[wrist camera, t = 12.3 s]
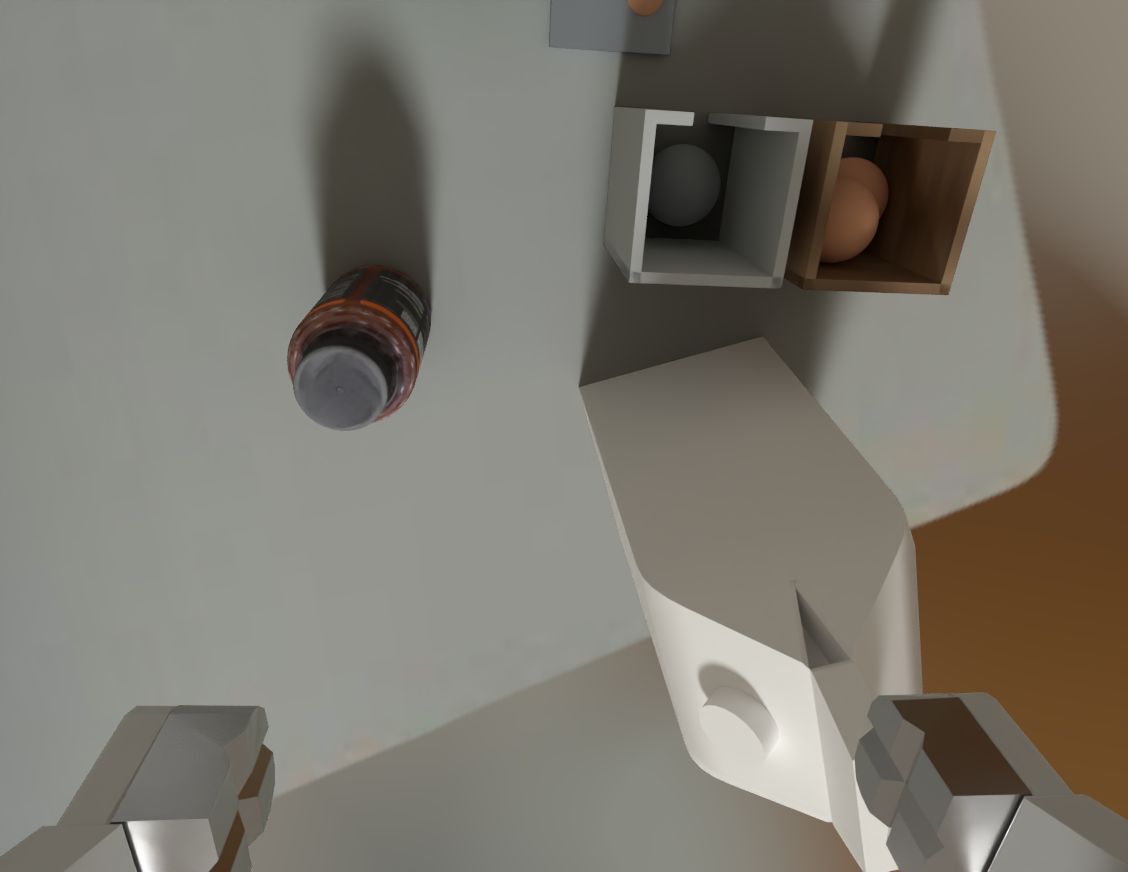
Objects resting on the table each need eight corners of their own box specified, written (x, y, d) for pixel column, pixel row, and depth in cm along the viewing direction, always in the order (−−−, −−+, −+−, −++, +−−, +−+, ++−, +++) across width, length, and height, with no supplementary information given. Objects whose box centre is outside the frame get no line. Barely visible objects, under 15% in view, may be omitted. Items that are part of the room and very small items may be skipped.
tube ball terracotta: (801, 152, 37) (865, 166, 34) (850, 150, 39) (915, 163, 36) (784, 229, 39) (843, 248, 36) (831, 224, 41) (891, 242, 38)
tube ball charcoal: (640, 139, 37) (654, 144, 34) (714, 143, 38) (736, 148, 34) (632, 218, 39) (645, 230, 35) (703, 221, 39) (723, 234, 36)
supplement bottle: (309, 335, 40) (244, 414, 30) (351, 242, 38) (296, 295, 28) (406, 381, 42) (374, 472, 32) (451, 295, 40) (432, 363, 30)
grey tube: (614, 106, 36) (645, 109, 28) (746, 114, 37) (813, 119, 29) (603, 244, 39) (629, 282, 31) (725, 249, 40) (781, 288, 32)
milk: (786, 500, 48) (1055, 885, 24) (622, 543, 48) (731, 962, 25) (762, 336, 43) (1076, 628, 19) (578, 387, 43) (665, 731, 20)
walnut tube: (764, 116, 37) (836, 121, 29) (891, 123, 38) (996, 131, 30) (742, 250, 40) (802, 289, 32) (860, 256, 41) (948, 295, 33)
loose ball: (867, 161, 35) (788, 166, 34) (905, 196, 32) (818, 201, 32) (847, 237, 37) (773, 241, 37) (879, 275, 35) (800, 280, 34)
